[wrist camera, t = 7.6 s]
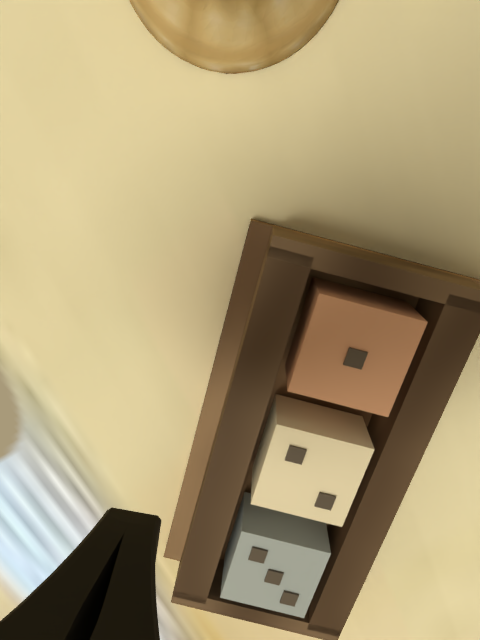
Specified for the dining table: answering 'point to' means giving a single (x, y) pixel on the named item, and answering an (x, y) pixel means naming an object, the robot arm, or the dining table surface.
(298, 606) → the key three slate
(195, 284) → the dining table surface
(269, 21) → the hand bell
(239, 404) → the wooden tray
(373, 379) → the key one terracotta
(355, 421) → the key two cream
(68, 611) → the robot arm
